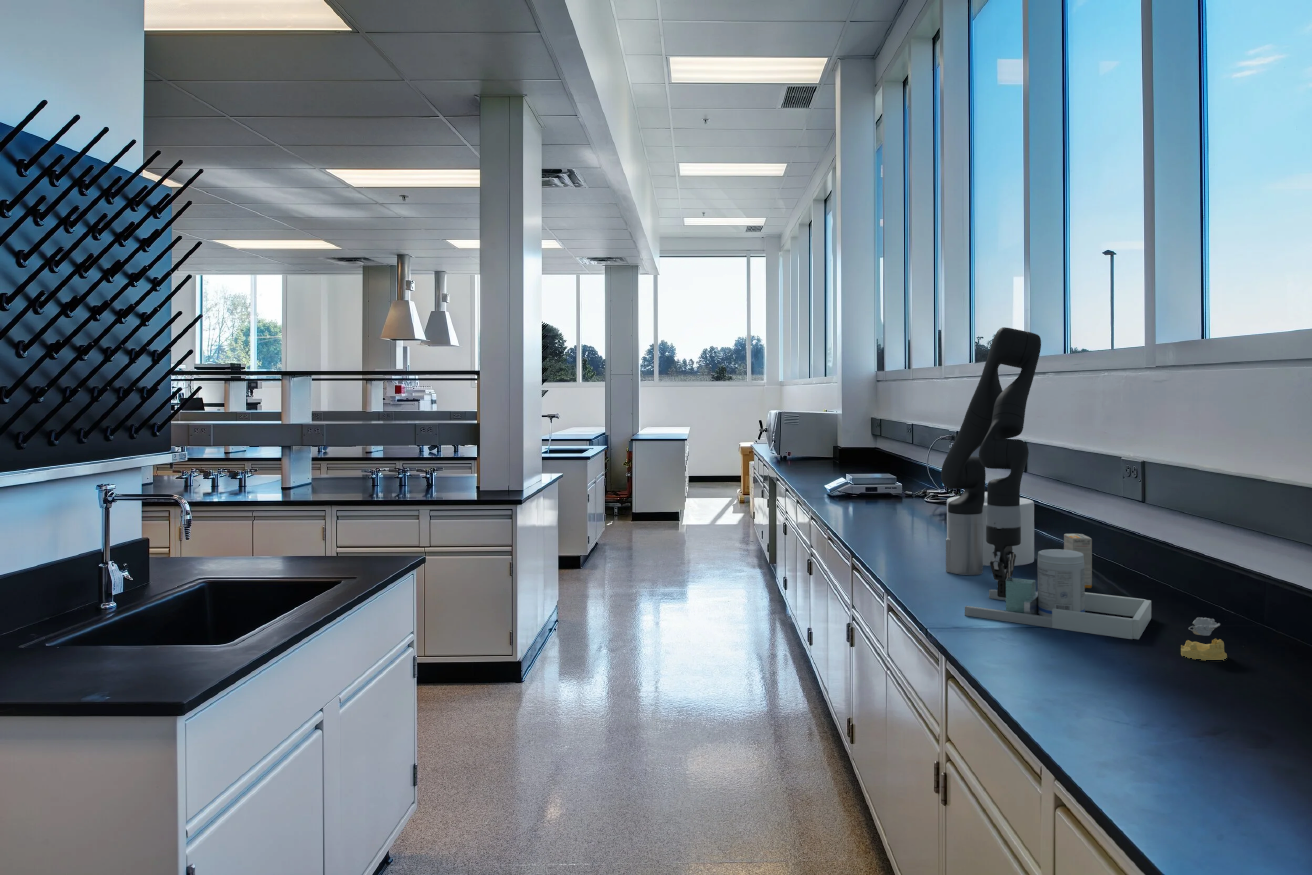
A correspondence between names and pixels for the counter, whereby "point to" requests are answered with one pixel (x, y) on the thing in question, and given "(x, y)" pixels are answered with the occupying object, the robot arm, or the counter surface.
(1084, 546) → the supplement box
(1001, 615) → the guide rails
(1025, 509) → the container
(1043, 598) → the supplement tub
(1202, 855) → the counter surface
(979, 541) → the robot arm
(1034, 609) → the scraper sled
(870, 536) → the counter surface
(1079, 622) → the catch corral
